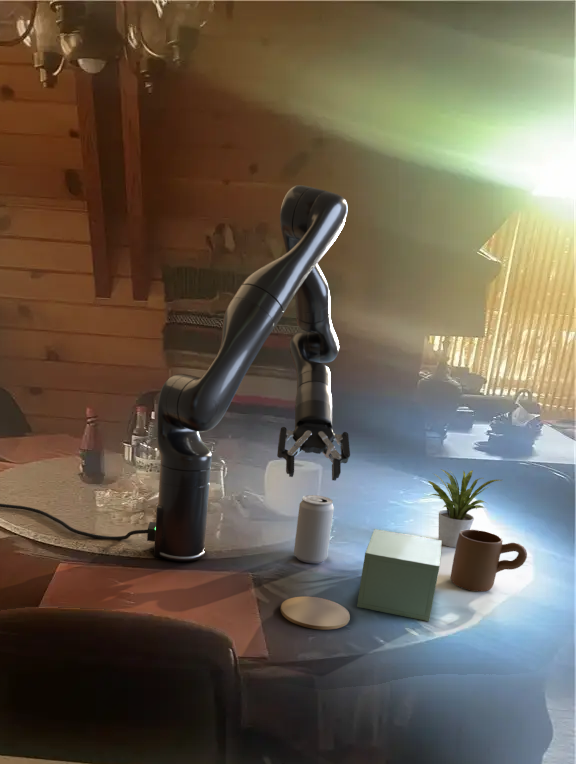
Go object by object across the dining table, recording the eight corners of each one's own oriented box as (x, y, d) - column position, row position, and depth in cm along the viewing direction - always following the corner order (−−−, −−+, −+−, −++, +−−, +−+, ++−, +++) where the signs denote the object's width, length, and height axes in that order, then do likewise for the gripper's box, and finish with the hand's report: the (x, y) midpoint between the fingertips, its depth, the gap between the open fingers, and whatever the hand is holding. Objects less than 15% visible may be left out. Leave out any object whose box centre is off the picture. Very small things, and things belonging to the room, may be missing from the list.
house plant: (475, 533, 168) (490, 462, 163) (502, 556, 155) (518, 479, 150) (412, 529, 167) (425, 458, 162) (433, 552, 154) (448, 474, 149)
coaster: (283, 626, 116) (283, 623, 116) (278, 597, 127) (278, 593, 126) (354, 632, 116) (355, 629, 116) (343, 602, 126) (344, 599, 126)
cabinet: (366, 578, 138) (374, 528, 135) (432, 591, 134) (441, 540, 131) (356, 606, 125) (365, 552, 122) (429, 621, 122) (439, 566, 119)
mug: (517, 585, 140) (527, 537, 137) (520, 600, 133) (531, 550, 130) (449, 573, 143) (458, 526, 140) (449, 587, 136) (458, 538, 133)
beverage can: (326, 566, 142) (334, 505, 138) (291, 562, 143) (299, 501, 139) (327, 555, 148) (335, 496, 144) (294, 550, 149) (301, 492, 145)
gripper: (281, 395, 153) (279, 464, 146) (351, 401, 153) (353, 470, 146) (276, 416, 160) (274, 483, 153) (344, 422, 160) (345, 489, 152)
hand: (313, 476), depth 149 cm, fingers open, 8 cm apart
